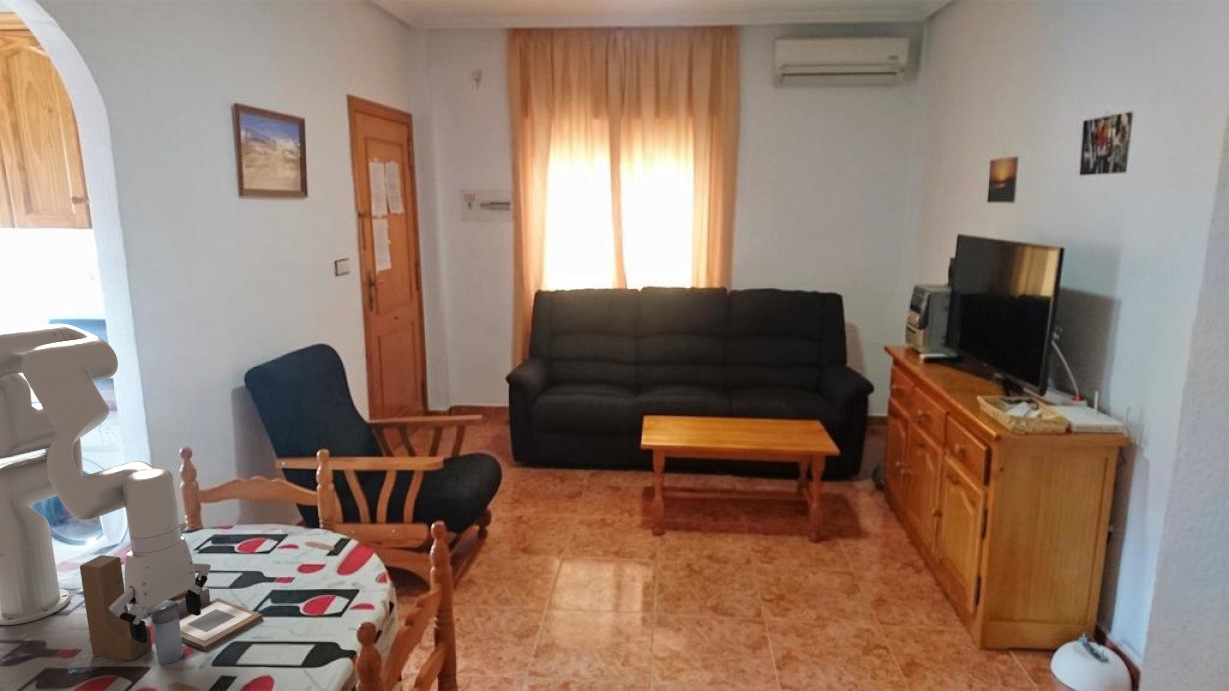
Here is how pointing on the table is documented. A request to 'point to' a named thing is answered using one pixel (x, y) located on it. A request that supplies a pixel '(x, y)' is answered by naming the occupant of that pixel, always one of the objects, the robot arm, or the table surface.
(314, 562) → the table surface
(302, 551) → the table surface
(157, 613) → the grey capped shaker
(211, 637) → the picture frame
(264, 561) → the table surface
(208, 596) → the button housing
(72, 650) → the table surface
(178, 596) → the button
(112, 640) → the wooden block
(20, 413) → the robot arm
